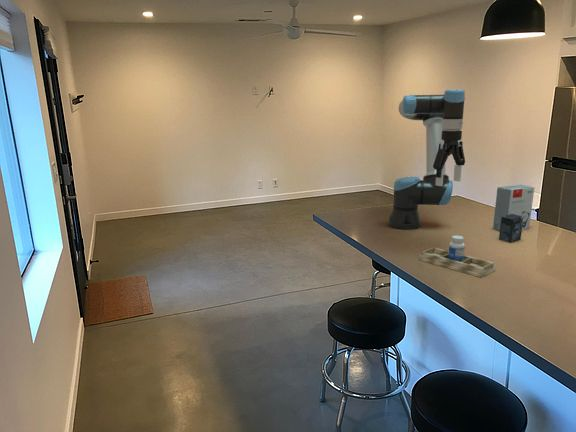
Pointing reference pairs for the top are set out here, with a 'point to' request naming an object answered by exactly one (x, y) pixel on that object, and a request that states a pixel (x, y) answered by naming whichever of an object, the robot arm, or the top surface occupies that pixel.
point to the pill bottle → (456, 249)
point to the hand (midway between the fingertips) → (448, 183)
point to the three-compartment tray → (465, 266)
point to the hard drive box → (513, 204)
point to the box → (511, 228)
